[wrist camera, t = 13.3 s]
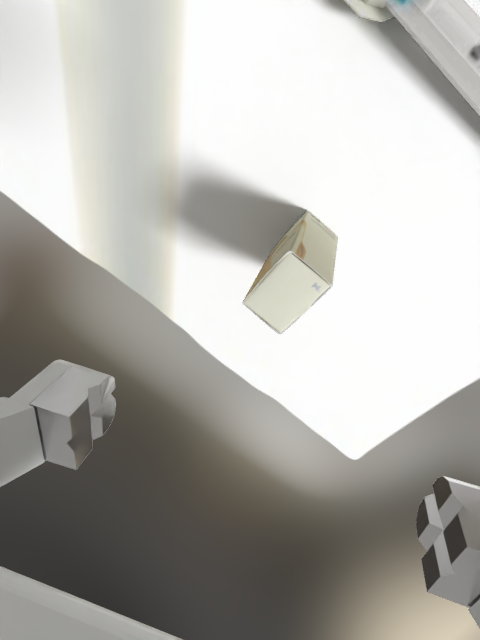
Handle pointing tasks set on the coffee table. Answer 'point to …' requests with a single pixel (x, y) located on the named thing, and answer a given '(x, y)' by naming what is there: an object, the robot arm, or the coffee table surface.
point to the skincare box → (294, 274)
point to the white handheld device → (437, 36)
